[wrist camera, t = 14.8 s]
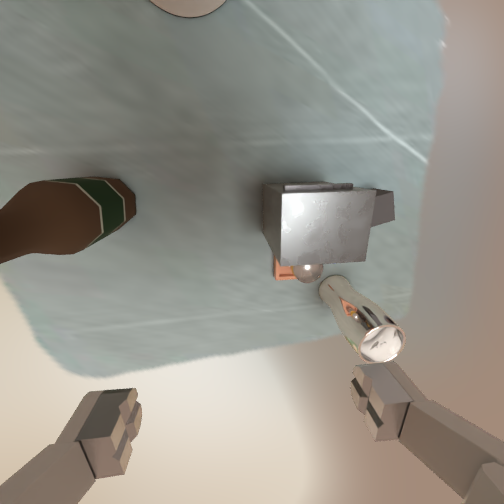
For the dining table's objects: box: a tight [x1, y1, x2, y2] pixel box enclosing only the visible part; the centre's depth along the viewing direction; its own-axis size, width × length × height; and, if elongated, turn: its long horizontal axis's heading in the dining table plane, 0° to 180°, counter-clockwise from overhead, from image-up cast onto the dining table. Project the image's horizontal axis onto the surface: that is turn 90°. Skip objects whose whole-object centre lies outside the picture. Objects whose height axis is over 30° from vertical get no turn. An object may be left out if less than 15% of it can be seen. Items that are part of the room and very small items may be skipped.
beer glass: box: [319, 275, 406, 364], centre depth 38 cm, size 7×7×15 cm
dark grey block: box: [262, 182, 376, 267], centre depth 32 cm, size 9×10×14 cm
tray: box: [274, 255, 297, 280], centre depth 40 cm, size 8×8×2 cm
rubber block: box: [370, 188, 395, 227], centre depth 37 cm, size 4×4×5 cm
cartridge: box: [289, 264, 323, 283], centre depth 38 cm, size 5×5×6 cm
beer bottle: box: [0, 177, 136, 264], centre depth 24 cm, size 8×8×24 cm
